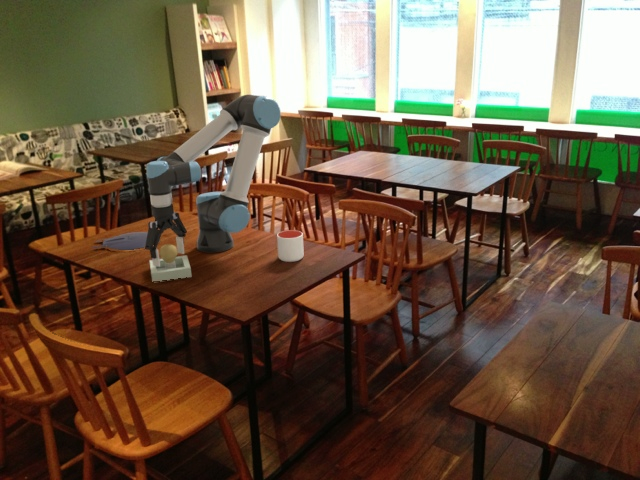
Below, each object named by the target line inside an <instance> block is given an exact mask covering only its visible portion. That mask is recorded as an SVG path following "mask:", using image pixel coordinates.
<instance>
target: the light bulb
mask: <svg viewBox="0 0 640 480" xmlns="http://www.w3.org/2000/svg"><path fill="white" fill-rule="evenodd" d="M177 255H178V250H177V246H176V245H174V244H171V243H166V244H164V245H162V246H161V247H160V248H159V257H160V259H163V260H164V261H165V267H166V270H167V269H174V268H176V266H175V265H176V264H175V261H174V260H175V258H176V257H178V256H177Z"/></svg>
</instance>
